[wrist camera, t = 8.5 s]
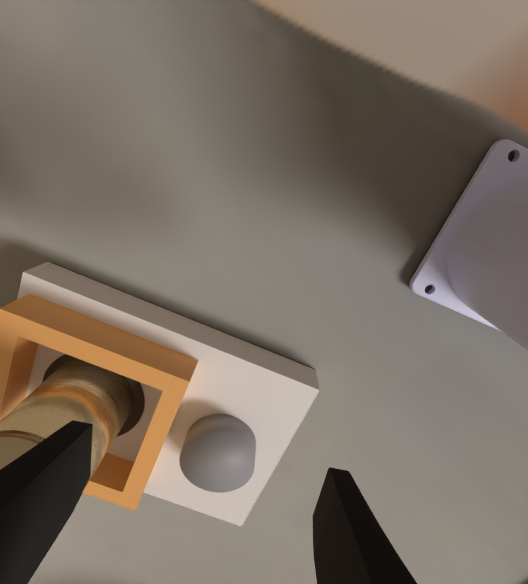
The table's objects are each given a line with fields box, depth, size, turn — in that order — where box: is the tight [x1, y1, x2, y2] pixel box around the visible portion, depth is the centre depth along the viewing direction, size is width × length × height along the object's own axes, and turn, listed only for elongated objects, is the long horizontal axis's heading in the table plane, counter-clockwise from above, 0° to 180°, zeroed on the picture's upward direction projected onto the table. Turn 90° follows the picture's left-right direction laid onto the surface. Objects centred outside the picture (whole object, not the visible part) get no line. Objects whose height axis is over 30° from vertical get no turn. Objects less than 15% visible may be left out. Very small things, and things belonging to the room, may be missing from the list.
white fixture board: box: [0, 262, 320, 526], centre depth 20 cm, size 16×11×4 cm
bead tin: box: [0, 358, 134, 491], centre depth 16 cm, size 4×4×6 cm
